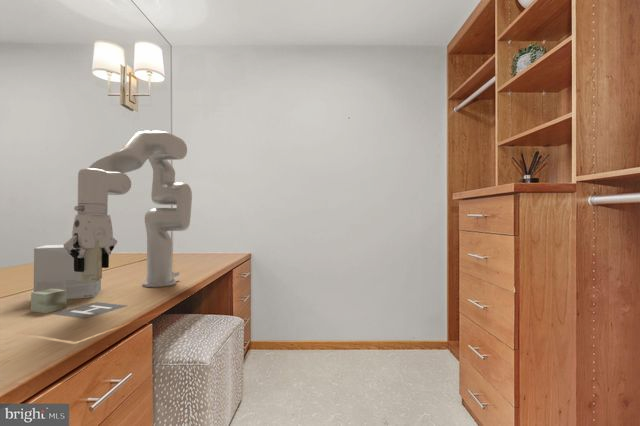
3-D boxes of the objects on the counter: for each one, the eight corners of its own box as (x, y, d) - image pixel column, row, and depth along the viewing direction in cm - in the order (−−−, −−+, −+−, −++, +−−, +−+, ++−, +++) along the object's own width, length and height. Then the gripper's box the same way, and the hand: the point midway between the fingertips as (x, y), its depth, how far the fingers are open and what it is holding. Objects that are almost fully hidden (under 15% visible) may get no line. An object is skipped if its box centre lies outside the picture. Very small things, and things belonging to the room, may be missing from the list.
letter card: (96, 303, 111) (96, 302, 111) (128, 307, 107) (128, 305, 107) (51, 315, 98) (51, 313, 98) (85, 320, 94) (85, 318, 94)
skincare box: (98, 281, 101) (99, 240, 101) (80, 282, 99) (81, 240, 99) (102, 278, 106) (102, 238, 107) (85, 279, 105) (85, 239, 105)
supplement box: (101, 290, 130) (102, 243, 130) (95, 298, 118) (95, 246, 118) (44, 294, 123) (45, 244, 123) (32, 303, 111) (32, 247, 111)
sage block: (52, 307, 106) (52, 288, 106) (66, 309, 105) (66, 290, 105) (30, 313, 101) (31, 292, 101) (45, 315, 99) (45, 294, 99)
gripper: (73, 209, 93) (72, 275, 93) (126, 210, 110) (126, 266, 110) (53, 209, 96) (52, 273, 96) (109, 210, 112) (108, 265, 112)
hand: (91, 269), depth 103 cm, fingers closed on skincare box, 7 cm apart
